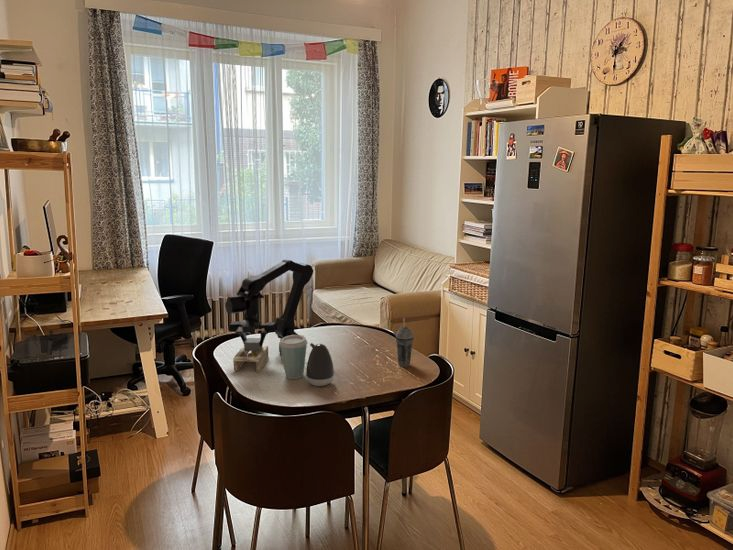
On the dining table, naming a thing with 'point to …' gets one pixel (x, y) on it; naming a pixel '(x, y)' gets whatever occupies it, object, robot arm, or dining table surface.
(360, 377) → the dining table surface
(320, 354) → the pump dispenser
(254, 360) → the keyhole board
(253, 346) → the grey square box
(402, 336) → the beverage cup
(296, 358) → the disposable coffee cup
